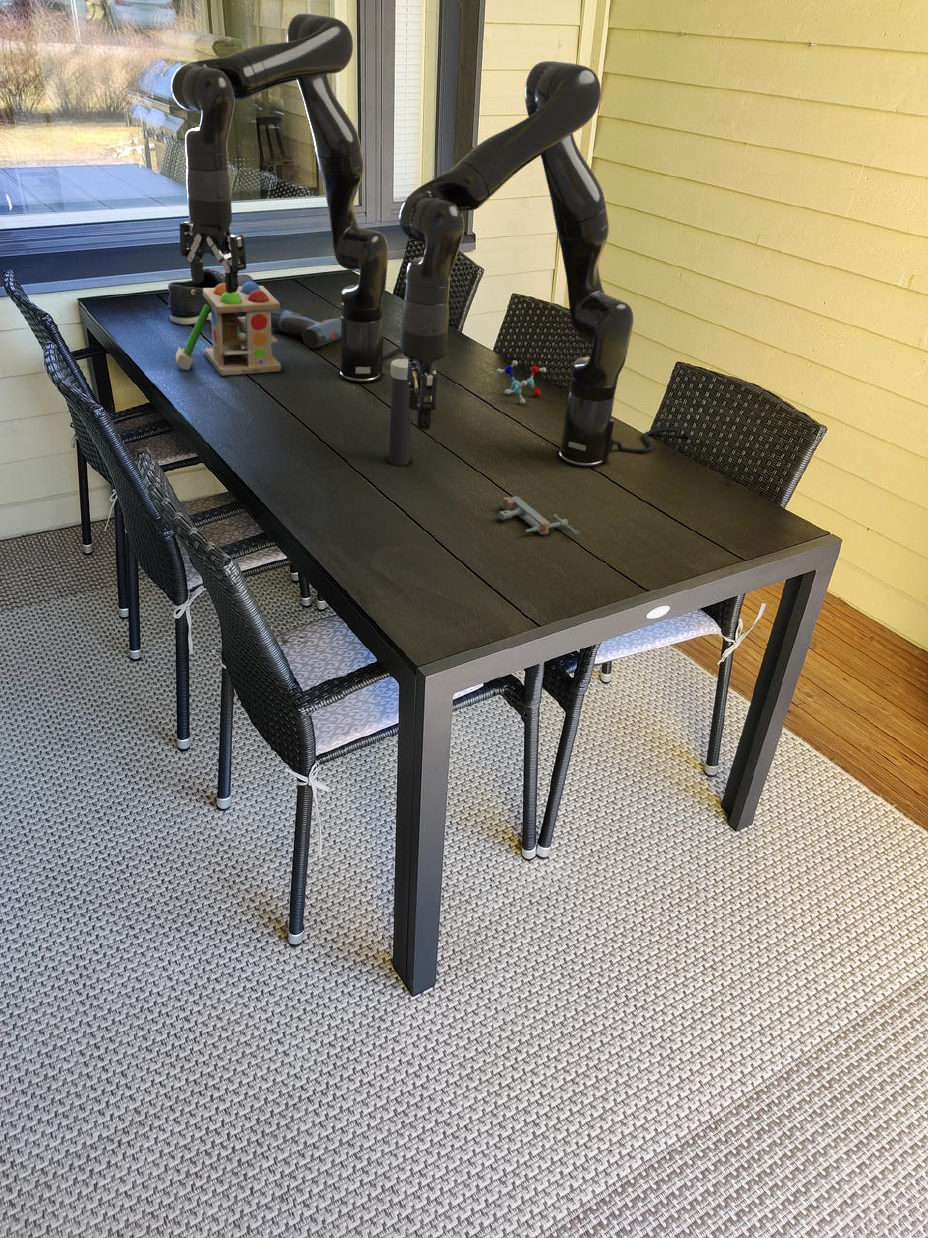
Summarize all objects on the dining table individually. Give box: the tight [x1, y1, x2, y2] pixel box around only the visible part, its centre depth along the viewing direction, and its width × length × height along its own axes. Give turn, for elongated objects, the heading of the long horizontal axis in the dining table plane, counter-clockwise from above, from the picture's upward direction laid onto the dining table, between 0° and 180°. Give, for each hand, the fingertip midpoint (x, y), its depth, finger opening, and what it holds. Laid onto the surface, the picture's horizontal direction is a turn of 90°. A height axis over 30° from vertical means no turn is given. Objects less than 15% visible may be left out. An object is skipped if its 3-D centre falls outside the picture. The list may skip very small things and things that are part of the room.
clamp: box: [498, 496, 580, 537], centre depth 177 cm, size 15×2×10 cm
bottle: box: [388, 376, 413, 466], centre depth 190 cm, size 4×4×20 cm
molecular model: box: [496, 360, 547, 405], centre depth 227 cm, size 12×10×10 cm
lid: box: [390, 358, 409, 380], centre depth 185 cm, size 5×5×2 cm
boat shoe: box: [167, 268, 256, 325], centre depth 261 cm, size 13×33×10 cm, turn 147°
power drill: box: [271, 308, 341, 349], centre depth 252 cm, size 5×19×20 cm
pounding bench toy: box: [174, 282, 282, 377], centre depth 225 cm, size 23×14×18 cm, turn 116°
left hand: (214, 287), depth 183 cm, fingers open, 8 cm apart
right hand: (419, 418), depth 169 cm, fingers open, 8 cm apart
